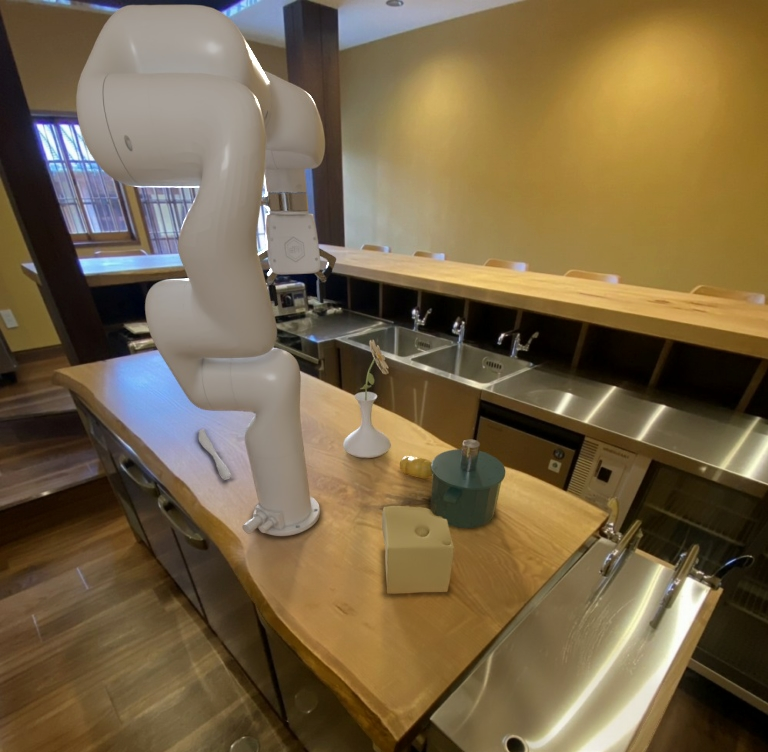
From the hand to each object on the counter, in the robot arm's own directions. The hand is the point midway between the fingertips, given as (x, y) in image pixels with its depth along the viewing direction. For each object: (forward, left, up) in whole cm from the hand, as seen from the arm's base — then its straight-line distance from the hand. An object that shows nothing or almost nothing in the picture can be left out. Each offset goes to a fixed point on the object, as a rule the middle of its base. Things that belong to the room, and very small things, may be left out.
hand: (298, 303), depth 91 cm
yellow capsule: (-6, -32, -31) cm, 45 cm away
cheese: (-33, -44, -31) cm, 63 cm away
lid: (-12, -45, -22) cm, 51 cm away
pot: (-12, -45, -31) cm, 56 cm away
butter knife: (-20, +15, -31) cm, 40 cm away
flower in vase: (-1, -17, -31) cm, 35 cm away
